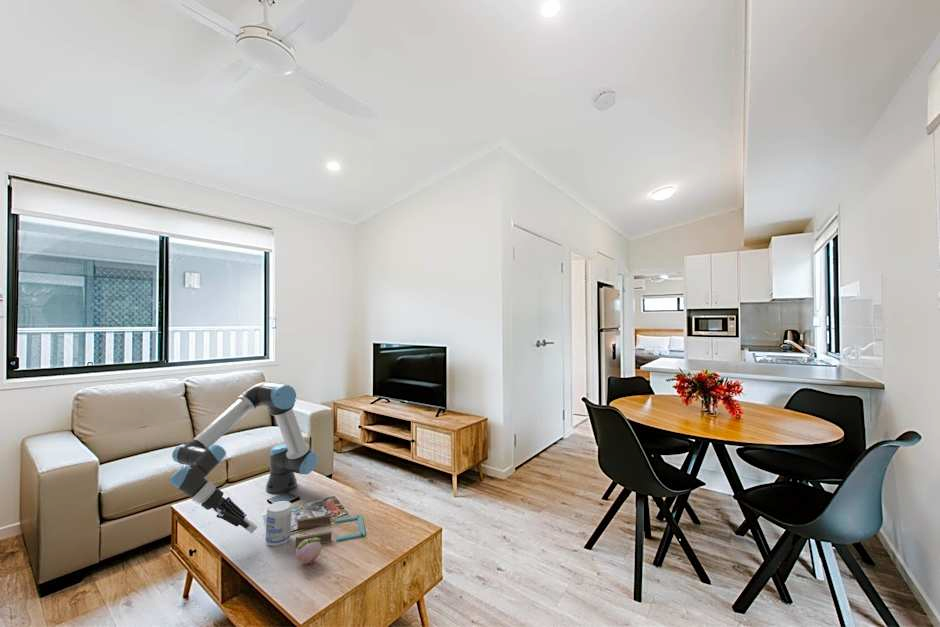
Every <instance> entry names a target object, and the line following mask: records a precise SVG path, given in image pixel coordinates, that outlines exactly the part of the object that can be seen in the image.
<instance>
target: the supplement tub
mask: <svg viewBox="0 0 940 627" xmlns="http://www.w3.org/2000/svg"><path fill="white" fill-rule="evenodd" d="M292 508H293V506H292V503H291V501H288V500H281V501H280V500H279V501H275V502H272V503H271V504H269V505H268V506H267V510H266V518H265V519H266V524H265V544H267V545H268V546H270V547H276V546H282V545H284V544H286V543H287V542H288V541H290V539H291V534H292V532H291V530H292Z"/></svg>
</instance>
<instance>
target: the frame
mask: <svg viewBox="0 0 940 627" xmlns="http://www.w3.org/2000/svg"><path fill="white" fill-rule="evenodd" d="M356 520H357V525H358V528H359V529H358V530H359V532H355V533H350V534H344V535H339V536H336V538H335V540H336V542H340V541H345V540H352V539H357V538H363V537H366V530H365V526H364V521H363V516H362V514H359V515H357V514H356V515H353V516H352V515H351V516H347V517H345V516H344V517H339V518H335V519H334V523H335V524H336V523H337V524H338V523H343V522H344V523H345V522H350V521H356Z"/></svg>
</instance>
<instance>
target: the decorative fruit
mask: <svg viewBox="0 0 940 627" xmlns="http://www.w3.org/2000/svg"><path fill="white" fill-rule="evenodd" d="M319 540H321V539H320V538H317V537H314V538H308V539H306V540H304V541H302V542H301V543H300V544H299V545H298V547H297V548H295V555H296V559H297V562H298V563H300V564H302V565H310V564H311V563H313V562H314V561H315V560H316V559H317V558H318V557H319V556H320V554H321V552H322V543H320V542H319Z"/></svg>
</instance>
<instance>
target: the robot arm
mask: <svg viewBox="0 0 940 627" xmlns="http://www.w3.org/2000/svg"><path fill="white" fill-rule="evenodd" d="M236 398H237V399H236V401H235V402H234V403H233V404H232V405H230V406H229V407H228V408H227V409H226V410H224V412H222V413H221V414H220V415H219V416H218V417H217V418H215V419H214V420H213V421H212V422H211V423H210V424H208V425H207V426H206V427H205V428H204V429H203V430H202V431H201V432H199V433H198V434H197V435H196V436H194V437H193V438H192V440H191V441H189V442H188V443H183V444H180V445H178V446H176V447H175V448H174V449H173V451H172V457H171V458H172V460H173V461H174V462H176V463H178V464H180V465H182V466H181V467H180V468H179V469H178V470H177V471H176V472H175V473H173V474H172V475H171V477H170V478H169V483H170V484H172V485H173V486H174V487H175V488H176V489H177V490H178V491H180V492H182V493H184V494H185V495H186V496H188V497H189V498H190V499H192V501H193V502H196V503H197V504H201V505H200V506H201V507H203V508H204V509H206V510H207V511H208V510H210V509H213V510H214V512H216V513H217V514H216V518H217V519H221V520H222V521H225V522H227V523H229V524H230V525H233V526H235V527H239V526H241V527H242V528H244V529H245V530H246V531H248V532H249V533H250V534H253V533H254V532H255V531H256V530H257V529H258V525H256V524H255V523H254V522H253V521H251V520H249V518H247V517H246V516H247V513H245V512H244V511H243V510H242V509H241V508H240V507H239V506H238V505H237V504H235V503H234V502H233V501H232V499H231V498H230V497H229V496H227V497H226V498H225V497H223V496H224V494H225V493H224V491H222V490H221V489H220V488H217V487H216V486H215V484H213V483H211V482H210V481H208V479H206V477H207V476H208V475H209V474H210V473H211V472H212V471H213V470H214V469H215V468H216V467H217V466H218V465H219V463H221V461H223V459H224V458H225V456H226V455H227V452H226V450H225V449H224V448H223V447H222V446H221V445H219V444H217V443H216V442H217V441H219V440H220V439H221V438H222V437H223V436H224V435H225V434H226V433H228V432H229V430H230V429H232V427H234V426H235V425H236V424H237V423H238V422H239V421H241V419H243V417H244V416H246V415H247V414H248V413H249V412H252V411H254V410H256V408H258V407H262V406H263V407H267V410H268V412H269V414H270V415H271V416H274V418H275V420H276V423H277V425H278V428H279V430H280V433H281V436H282V439H283V442H284V443H280V444H277V445H275V446H272V448H271V449H270V454H269V456H270V457H269V468H270V469H269V470H270V472H269V477H268V480H267V481H266V482H267V483H266V486H265V491H266V492H267V493H269V494H282V493H283V494H284V493H288V492H290V491H293V490H294V489H296V487H297V485H298V484H297V478H296V475H295V474H299V475H309V474H311V473H312V472H313V471H314V469H315V468H316V466H317V464H318V461H319V456H318V453H317V452H315V451H312V450H311V447H310V444H308V443H307V442H305V439H304V437H303V436H304V435H303V433H302V431H301V429H300V425H299V422H298V420H297V418H296V417H297V416H296V415H295V413H294V412H295V411H294V410H293V408H294V407H295V403H296V398H297V392H296V389H295V388H294V387H293V386H291V385H290V384H286V383H275V382H269V381H261V382H258V383H256V384H254V385H252V386H251V387H248V389H246V390H244V391H242V393H241V394H240V395H239V396H237V397H236Z"/></svg>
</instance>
